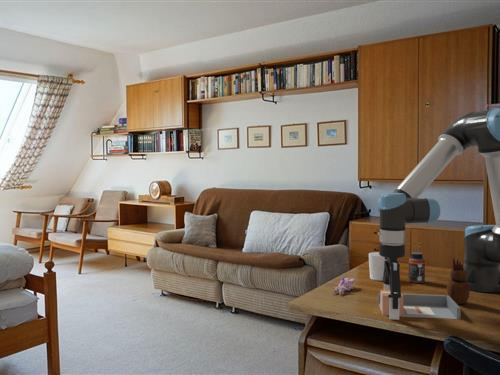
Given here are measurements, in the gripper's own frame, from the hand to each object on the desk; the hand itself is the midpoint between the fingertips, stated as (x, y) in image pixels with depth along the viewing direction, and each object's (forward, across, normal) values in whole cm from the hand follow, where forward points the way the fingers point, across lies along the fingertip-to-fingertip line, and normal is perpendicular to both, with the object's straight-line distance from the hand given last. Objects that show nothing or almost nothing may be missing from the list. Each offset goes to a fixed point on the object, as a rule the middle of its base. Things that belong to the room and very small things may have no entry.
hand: (391, 311), depth 138 cm
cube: (0, 0, 0) cm, 0 cm away
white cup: (+1, -43, +1) cm, 43 cm away
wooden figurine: (0, -14, +23) cm, 27 cm away
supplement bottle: (0, -40, +15) cm, 42 cm away
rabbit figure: (+1, -23, -13) cm, 26 cm away
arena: (0, -3, +8) cm, 9 cm away
